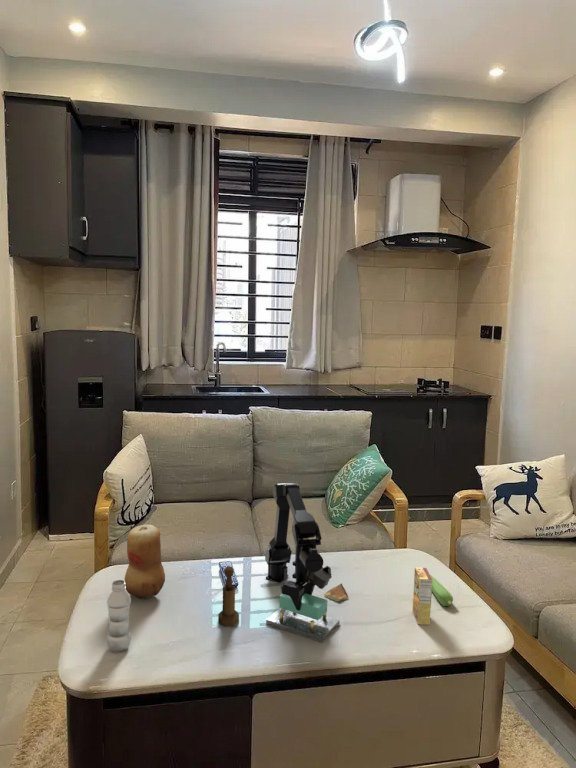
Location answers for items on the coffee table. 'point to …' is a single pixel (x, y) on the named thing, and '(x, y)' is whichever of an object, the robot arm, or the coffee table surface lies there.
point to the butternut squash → (144, 562)
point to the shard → (337, 593)
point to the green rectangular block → (305, 606)
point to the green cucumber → (441, 593)
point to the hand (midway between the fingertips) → (303, 605)
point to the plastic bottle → (118, 617)
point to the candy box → (422, 596)
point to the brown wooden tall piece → (228, 602)
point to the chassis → (303, 624)
